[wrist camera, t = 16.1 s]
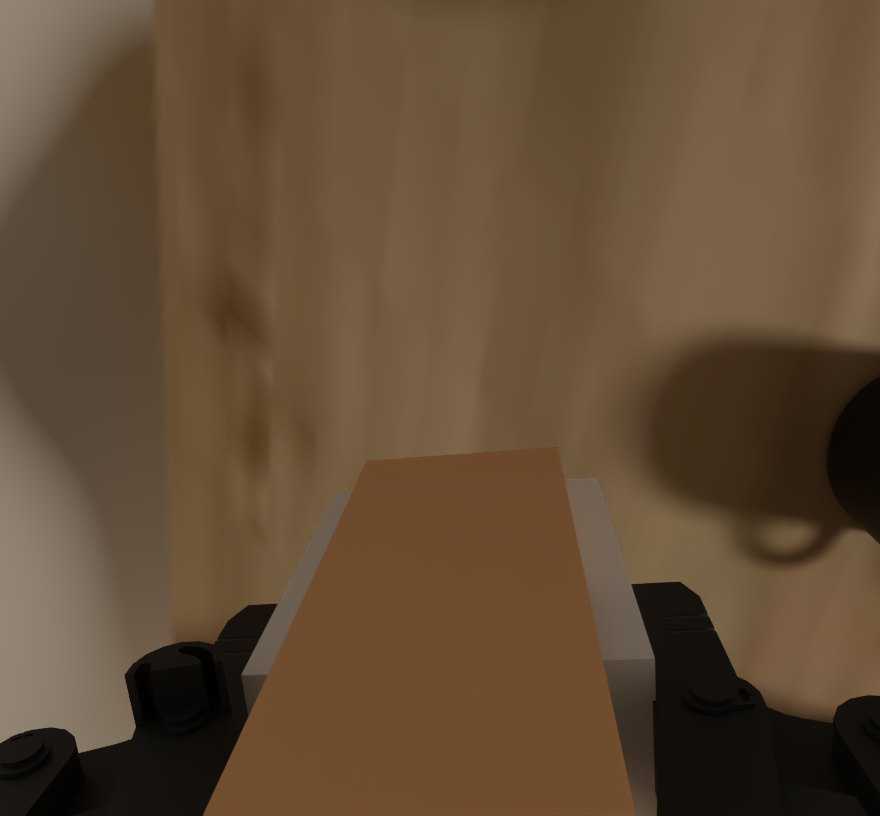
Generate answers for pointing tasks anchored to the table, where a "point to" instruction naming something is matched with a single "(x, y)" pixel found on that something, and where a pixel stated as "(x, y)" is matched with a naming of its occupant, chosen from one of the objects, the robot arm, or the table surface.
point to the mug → (858, 459)
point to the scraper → (439, 658)
